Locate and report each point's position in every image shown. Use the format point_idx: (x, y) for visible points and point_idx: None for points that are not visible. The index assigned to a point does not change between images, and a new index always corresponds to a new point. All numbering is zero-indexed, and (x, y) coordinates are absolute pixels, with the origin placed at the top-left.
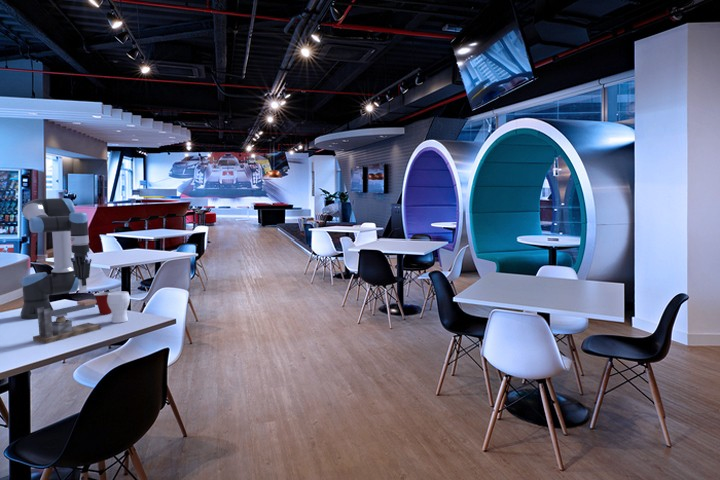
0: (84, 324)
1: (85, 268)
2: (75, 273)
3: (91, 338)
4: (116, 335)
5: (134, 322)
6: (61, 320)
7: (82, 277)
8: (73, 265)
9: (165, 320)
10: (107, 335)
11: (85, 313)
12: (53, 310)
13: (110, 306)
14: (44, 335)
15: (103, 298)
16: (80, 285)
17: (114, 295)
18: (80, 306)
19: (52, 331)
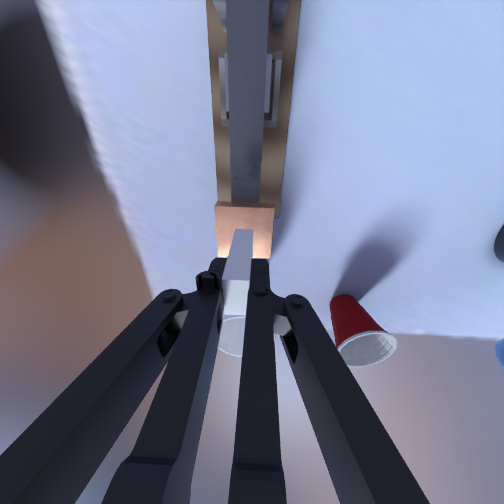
0: (270, 200)
1: (57, 401)
2: (305, 326)
3: (144, 132)
4: (119, 188)
5: None
6: None
7: (194, 297)
8: (379, 454)
9: None
10: (139, 177)
11: (397, 288)
12: (259, 36)
13: None
14: (270, 21)
15: (347, 329)
16: (234, 251)
17: (225, 318)
18: (231, 189)
19: (220, 21)
